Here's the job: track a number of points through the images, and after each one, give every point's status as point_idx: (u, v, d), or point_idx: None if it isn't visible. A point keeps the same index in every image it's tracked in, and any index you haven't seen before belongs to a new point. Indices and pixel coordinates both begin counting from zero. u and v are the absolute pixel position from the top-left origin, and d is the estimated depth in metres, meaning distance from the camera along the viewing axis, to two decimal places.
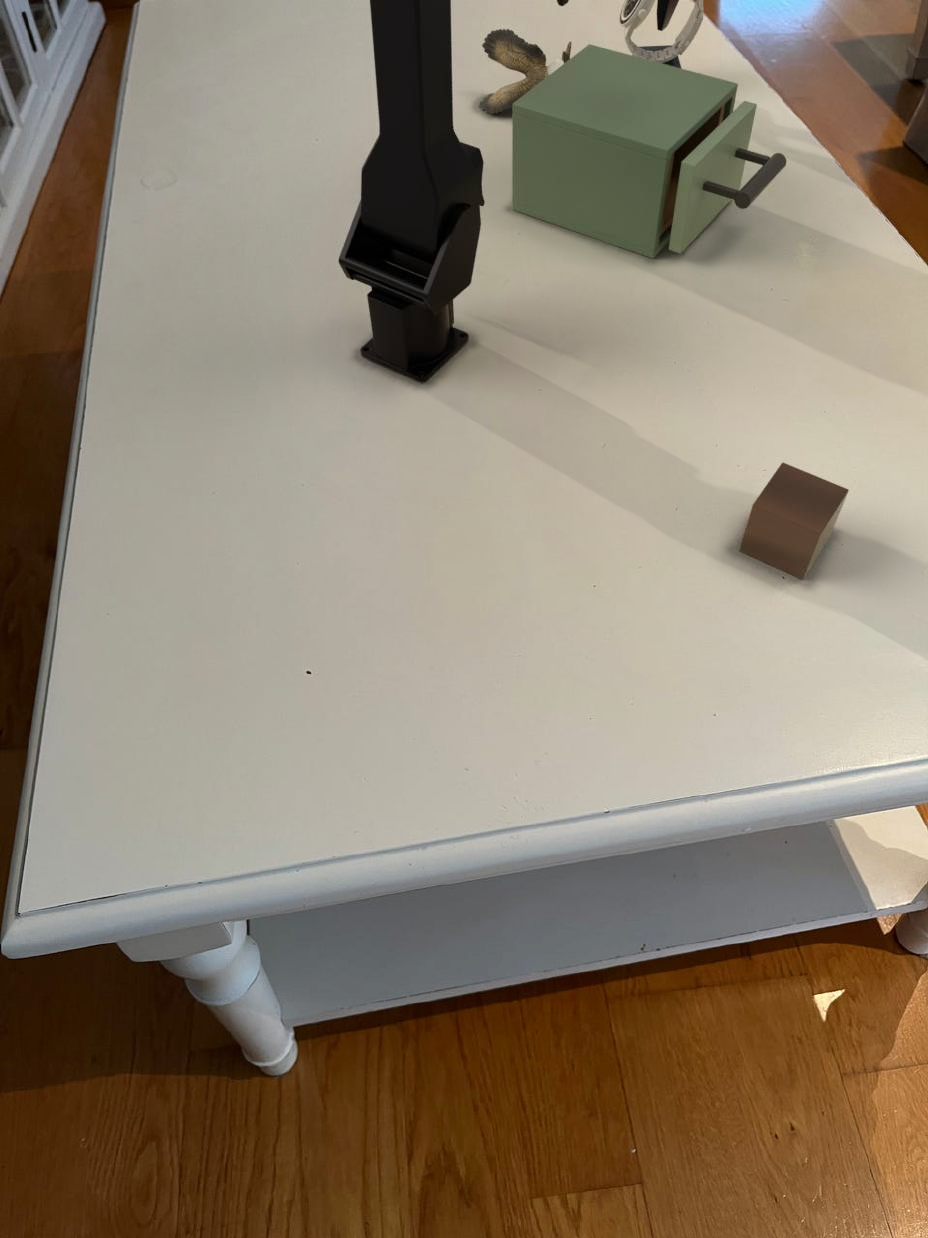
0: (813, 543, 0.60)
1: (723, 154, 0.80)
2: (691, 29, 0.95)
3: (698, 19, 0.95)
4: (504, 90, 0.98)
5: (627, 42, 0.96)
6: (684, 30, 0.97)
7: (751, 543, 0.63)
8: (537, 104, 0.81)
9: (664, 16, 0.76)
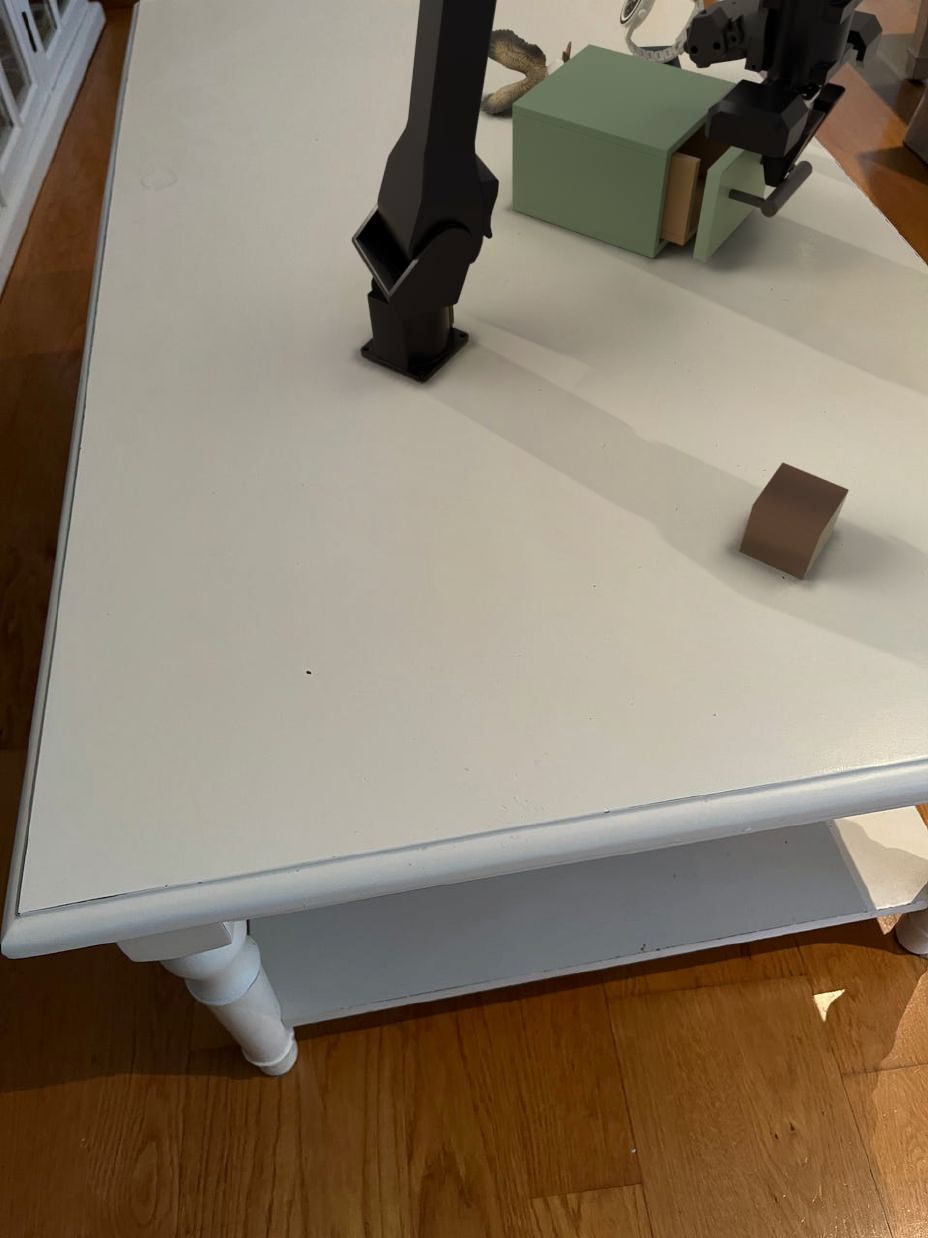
0: (813, 543, 0.60)
1: (749, 162, 0.79)
2: None
3: None
4: (504, 90, 0.98)
5: (627, 42, 0.96)
6: (684, 30, 0.97)
7: (751, 543, 0.63)
8: (537, 104, 0.81)
9: (791, 167, 0.78)
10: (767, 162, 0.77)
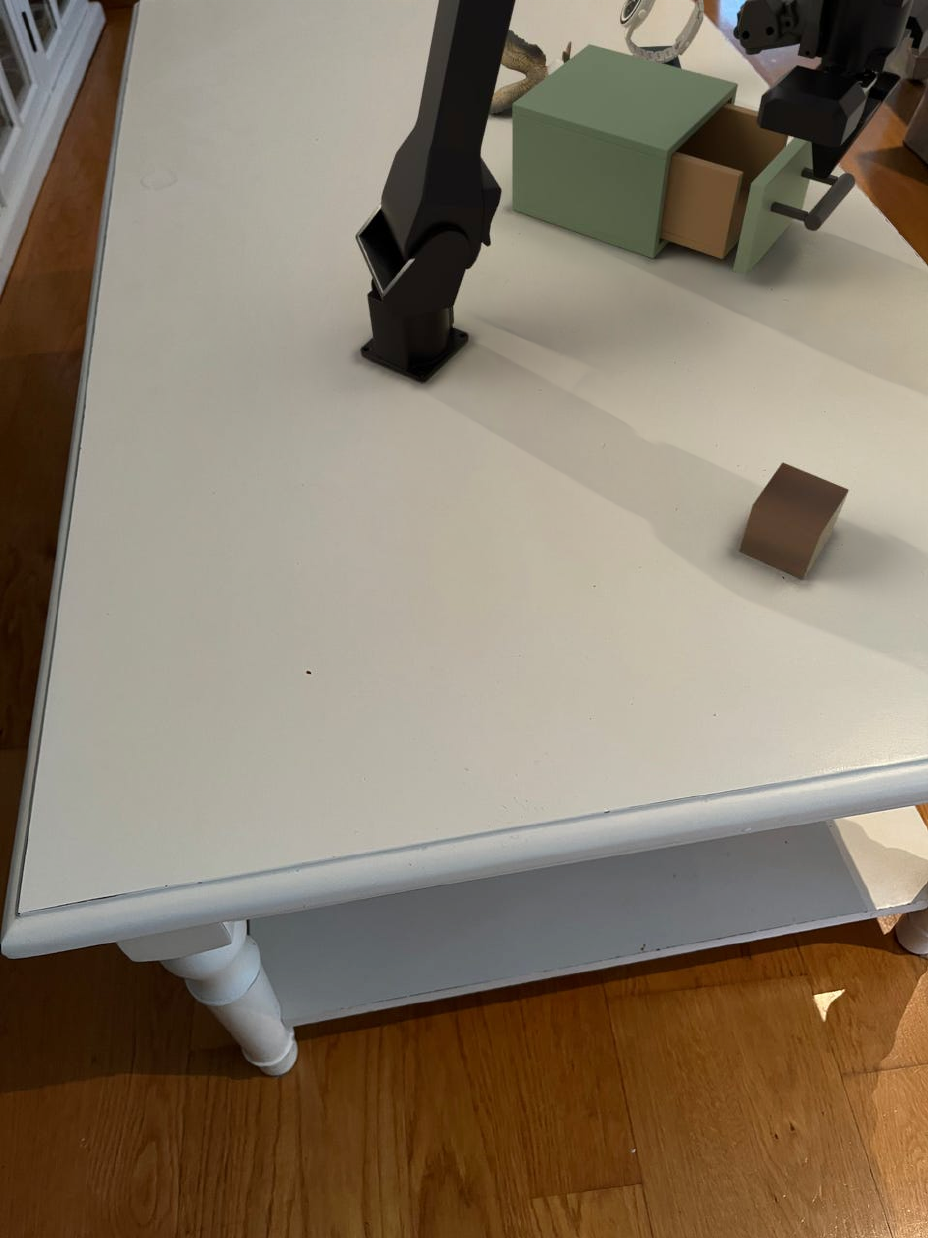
0: (813, 543, 0.60)
1: (791, 174, 0.78)
2: (691, 29, 0.95)
3: (698, 20, 0.95)
4: (504, 90, 0.98)
5: (627, 42, 0.96)
6: (684, 30, 0.97)
7: (751, 543, 0.63)
8: (537, 104, 0.81)
9: (841, 159, 0.76)
10: (817, 153, 0.75)
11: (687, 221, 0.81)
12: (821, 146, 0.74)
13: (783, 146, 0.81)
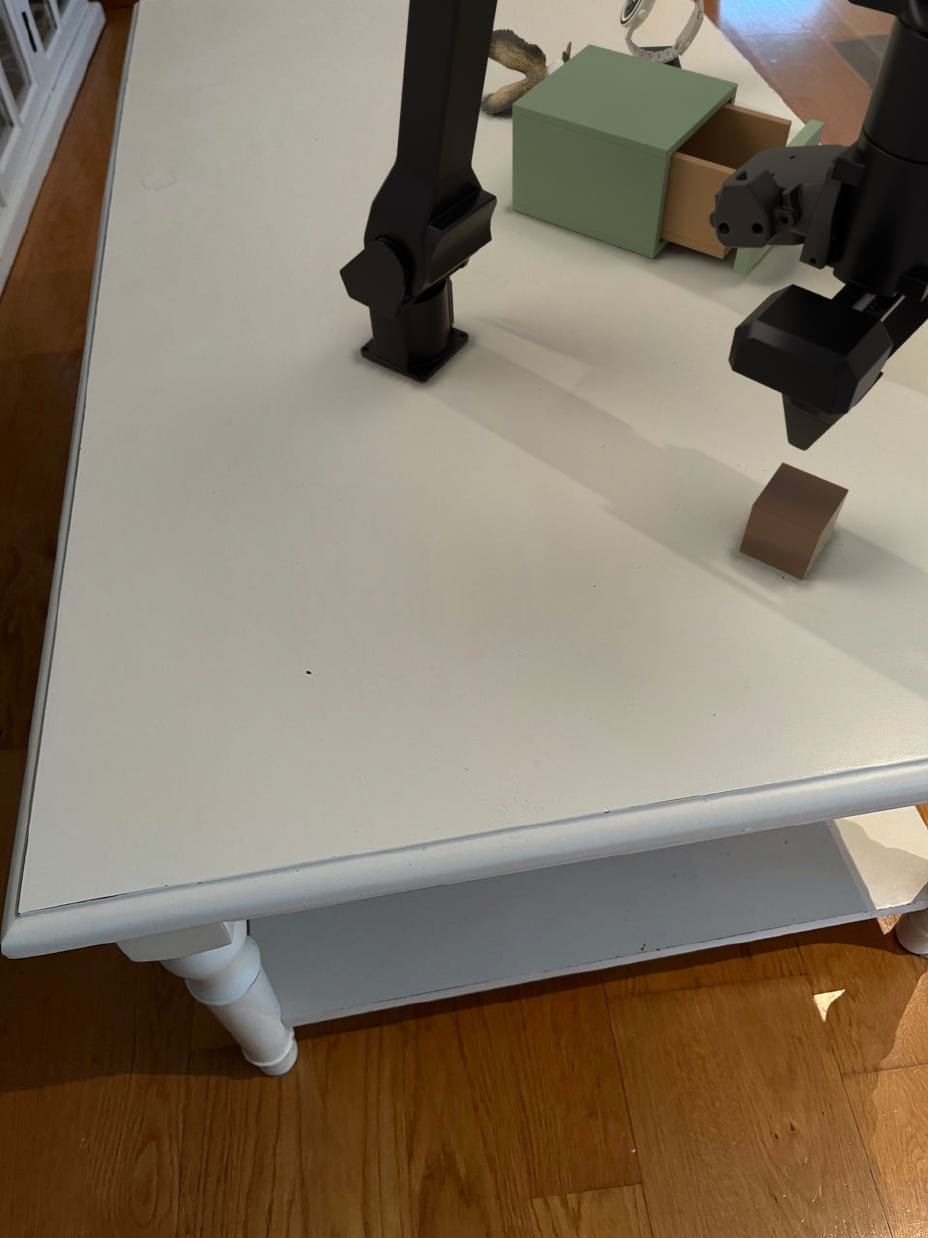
0: (813, 543, 0.60)
1: None
2: (691, 30, 0.95)
3: (698, 20, 0.95)
4: (504, 90, 0.98)
5: (627, 43, 0.96)
6: (684, 31, 0.97)
7: (751, 543, 0.63)
8: (537, 104, 0.81)
9: None
10: (791, 420, 0.51)
11: (687, 221, 0.81)
12: (797, 414, 0.50)
13: (783, 146, 0.81)
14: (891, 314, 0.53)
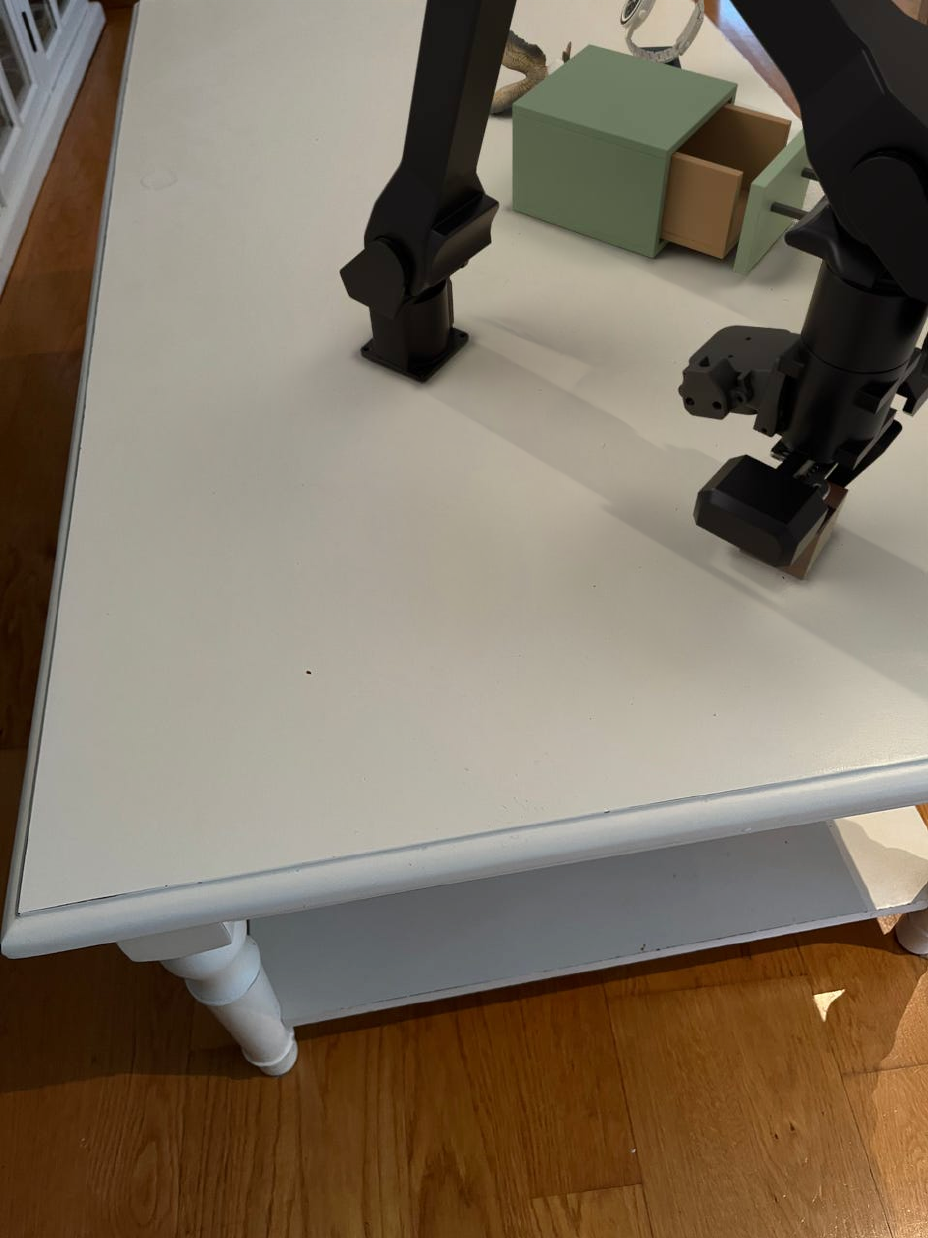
0: (813, 543, 0.60)
1: (791, 174, 0.78)
2: (692, 30, 0.95)
3: (699, 20, 0.94)
4: (504, 90, 0.98)
5: (627, 43, 0.96)
6: (685, 31, 0.97)
7: None
8: (537, 104, 0.81)
9: None
10: None
11: (687, 221, 0.81)
12: None
13: (783, 146, 0.81)
14: None
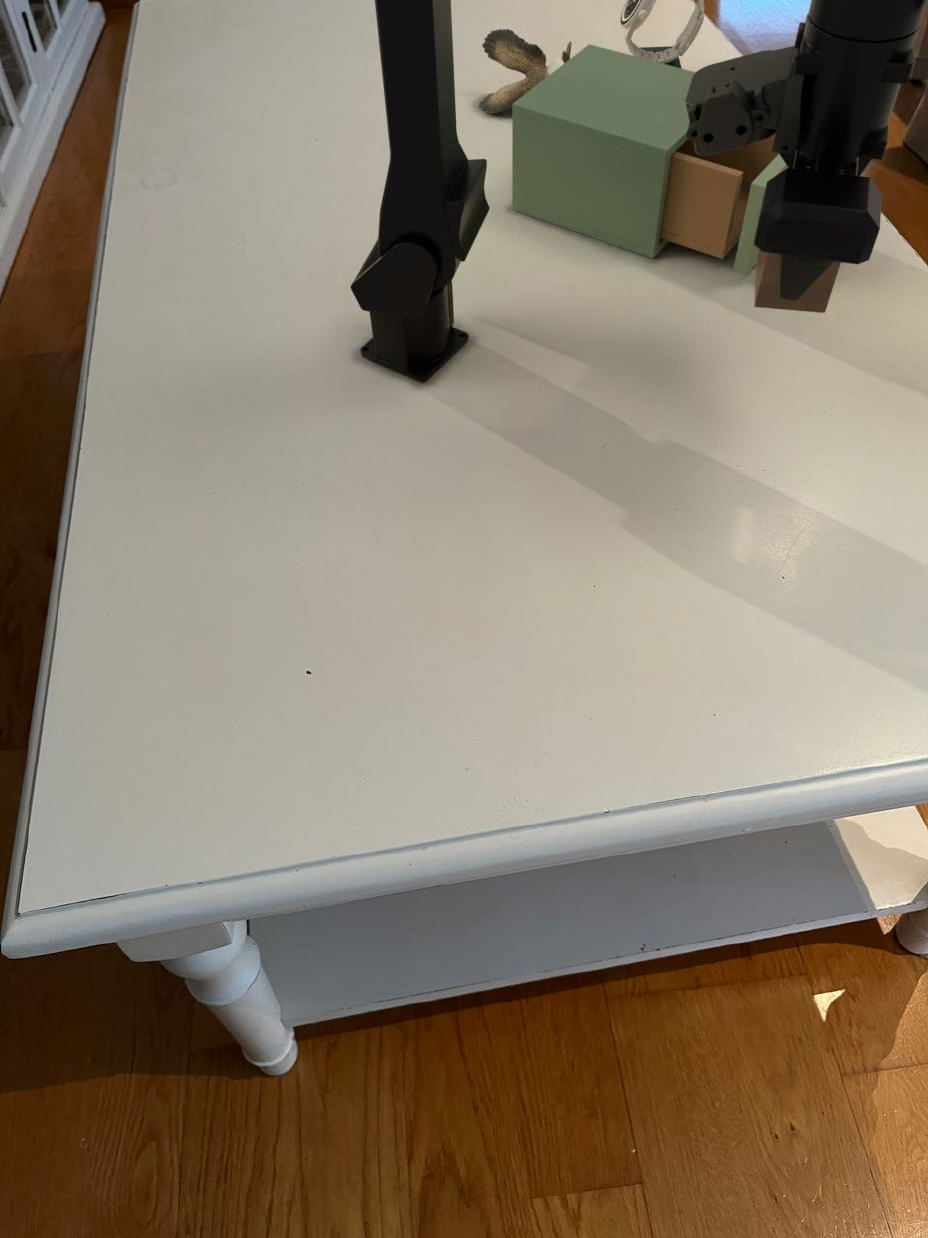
0: (836, 264, 0.60)
1: None
2: (692, 30, 0.95)
3: (699, 20, 0.94)
4: (504, 90, 0.98)
5: (627, 43, 0.96)
6: (685, 31, 0.97)
7: (768, 292, 0.63)
8: (537, 104, 0.81)
9: None
10: (788, 274, 0.60)
11: (687, 221, 0.81)
12: (794, 267, 0.59)
13: None
14: None
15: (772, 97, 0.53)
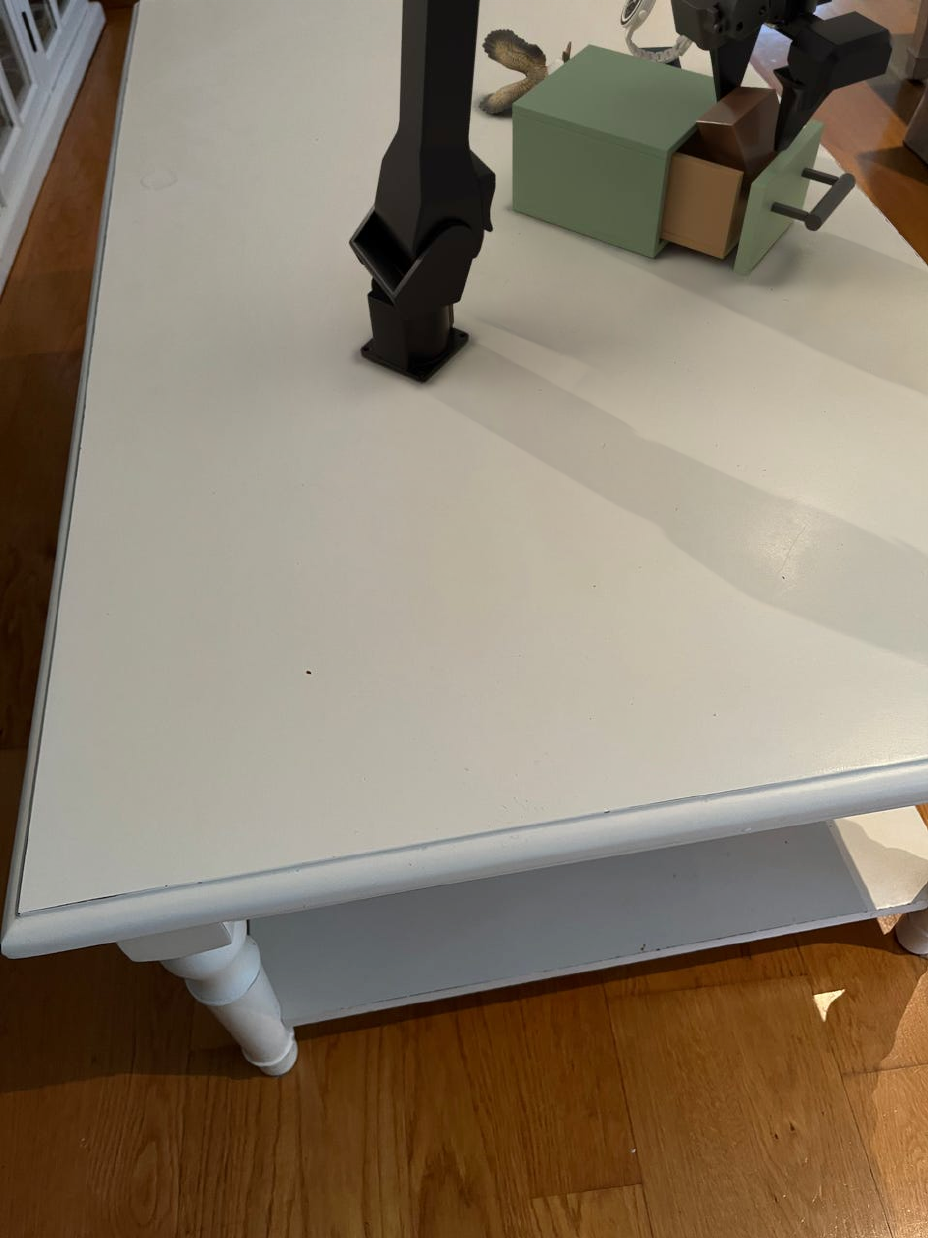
0: (777, 101, 0.75)
1: (791, 174, 0.78)
2: None
3: None
4: (504, 90, 0.98)
5: (628, 43, 0.96)
6: None
7: (751, 158, 0.76)
8: (537, 104, 0.81)
9: None
10: (788, 128, 0.73)
11: (688, 222, 0.81)
12: (795, 119, 0.72)
13: None
14: (734, 61, 0.76)
15: None
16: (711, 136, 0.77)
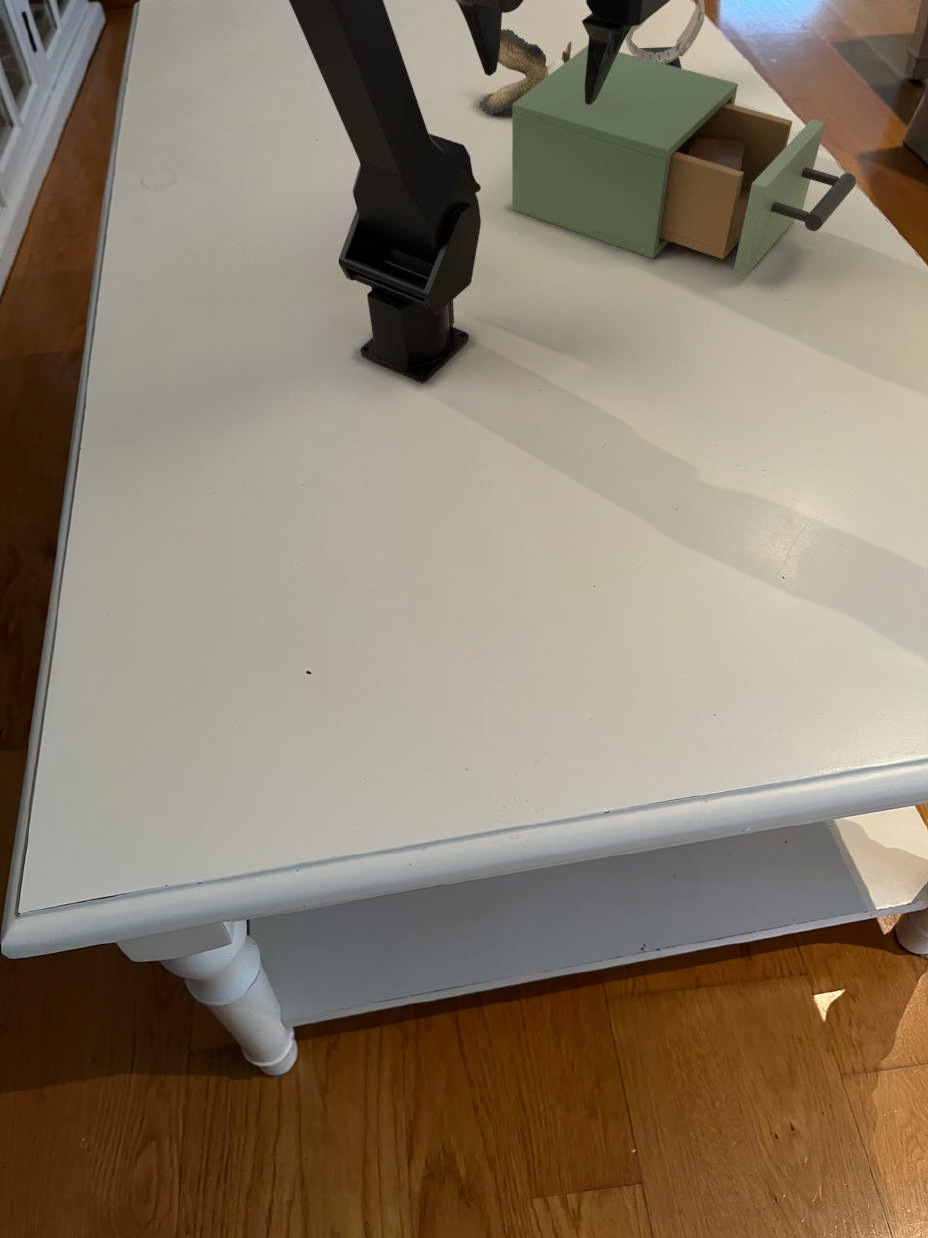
0: (702, 138, 0.83)
1: (792, 174, 0.78)
2: (692, 31, 0.95)
3: (699, 21, 0.94)
4: (504, 90, 0.98)
5: (628, 43, 0.96)
6: (685, 32, 0.97)
7: (727, 163, 0.80)
8: (537, 104, 0.81)
9: None
10: (599, 77, 0.72)
11: (688, 221, 0.81)
12: (604, 66, 0.71)
13: (783, 146, 0.81)
14: (490, 21, 0.74)
15: None
16: None
